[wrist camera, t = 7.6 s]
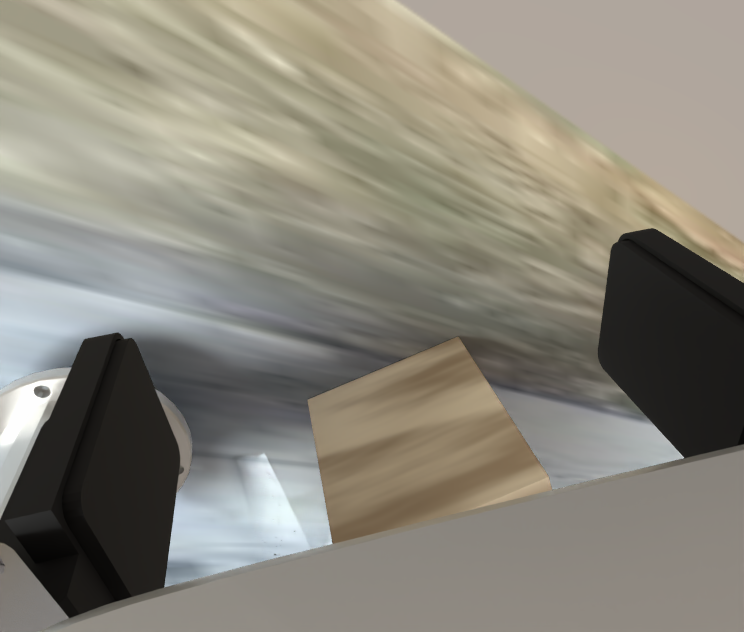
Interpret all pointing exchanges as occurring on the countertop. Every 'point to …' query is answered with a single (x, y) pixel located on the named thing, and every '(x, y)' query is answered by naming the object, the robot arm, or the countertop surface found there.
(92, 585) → the robot arm
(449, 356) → the maple block
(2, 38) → the countertop surface
